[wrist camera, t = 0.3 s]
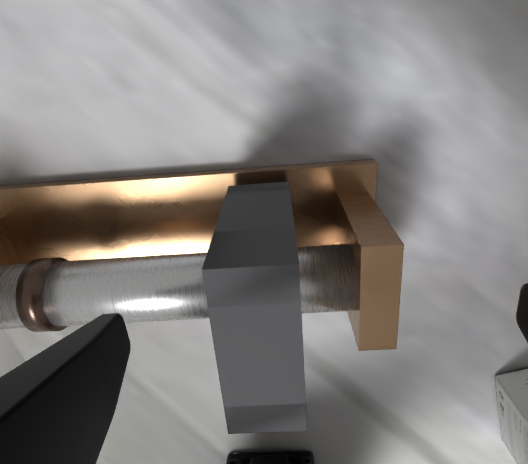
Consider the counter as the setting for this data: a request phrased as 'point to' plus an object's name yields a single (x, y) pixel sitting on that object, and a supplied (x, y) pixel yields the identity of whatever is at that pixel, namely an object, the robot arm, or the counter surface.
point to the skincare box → (514, 412)
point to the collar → (257, 310)
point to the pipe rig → (190, 247)
